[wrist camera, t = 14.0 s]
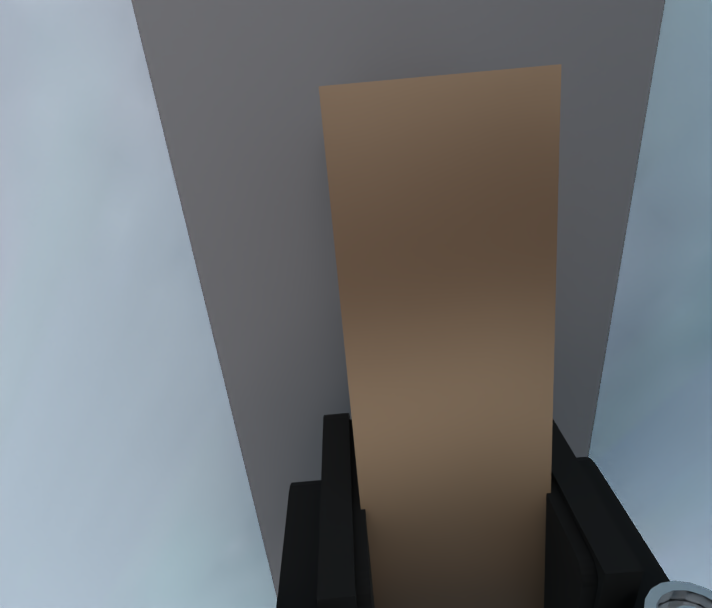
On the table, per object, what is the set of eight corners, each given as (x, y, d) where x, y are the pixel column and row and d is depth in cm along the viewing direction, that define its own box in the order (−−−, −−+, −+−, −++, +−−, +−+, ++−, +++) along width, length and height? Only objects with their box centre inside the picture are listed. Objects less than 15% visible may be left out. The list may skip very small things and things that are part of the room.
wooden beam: (253, 120, 10) (198, 97, 6) (553, 93, 10) (683, 53, 6) (339, 756, 15) (338, 961, 11) (539, 739, 15) (606, 939, 11)
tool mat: (127, -64, 9) (113, -72, 9) (665, -115, 9) (686, -125, 9) (298, 665, 20) (297, 681, 20) (547, 644, 20) (553, 660, 20)
